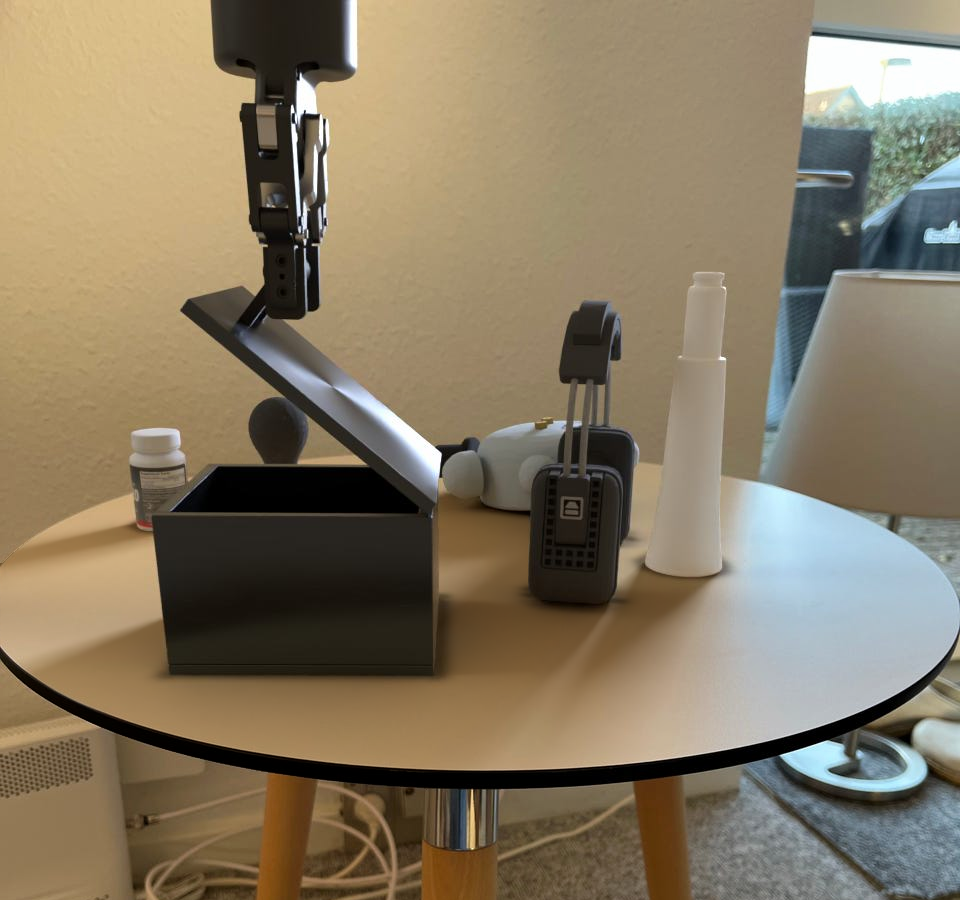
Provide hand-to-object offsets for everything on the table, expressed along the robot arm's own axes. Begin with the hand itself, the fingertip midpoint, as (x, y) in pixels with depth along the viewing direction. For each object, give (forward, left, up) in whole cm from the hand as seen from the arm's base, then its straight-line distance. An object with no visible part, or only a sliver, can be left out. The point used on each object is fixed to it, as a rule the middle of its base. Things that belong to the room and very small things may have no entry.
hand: (294, 313), depth 59 cm
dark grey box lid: (+1, 0, -5) cm, 5 cm away
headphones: (+19, +15, -20) cm, 32 cm away
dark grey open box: (0, 0, -20) cm, 20 cm away
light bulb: (-8, +35, -20) cm, 41 cm away
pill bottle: (-17, +26, -20) cm, 37 cm away
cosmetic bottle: (+27, +15, -20) cm, 37 cm away
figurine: (+16, +36, -20) cm, 44 cm away
